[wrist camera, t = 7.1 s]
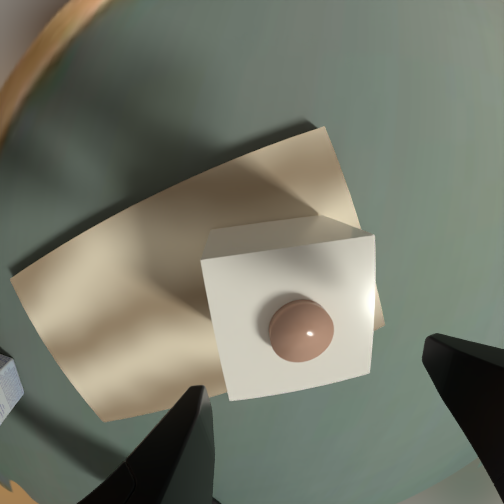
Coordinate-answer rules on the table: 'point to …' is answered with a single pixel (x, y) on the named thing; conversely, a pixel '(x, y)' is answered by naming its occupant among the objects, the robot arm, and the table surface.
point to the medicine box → (8, 386)
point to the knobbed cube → (290, 303)
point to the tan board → (168, 276)
